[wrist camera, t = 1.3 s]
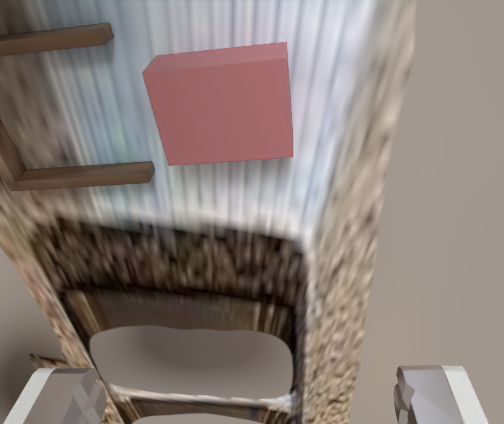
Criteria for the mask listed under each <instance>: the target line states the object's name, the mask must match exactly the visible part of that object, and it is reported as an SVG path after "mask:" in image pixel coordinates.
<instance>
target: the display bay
mask: <svg viewBox="0 0 504 424" xmlns="http://www.w3.org/2000/svg"><path fill="white" fill-rule="evenodd" d="M113 37H114V35H113V32H112V29H111V26H110V23H103V24H95V25H86V26H78V27H69V28H60V29H52V30H43V31H35V32H26V33H17V34H9V35H0V56H6V55H15V54H24V53H34V52H43V51H52V50H61V49H70V48H80V47H89V46H98V45H104V44H106V43H107V42H108V41H109V40H111V39H112V38H113ZM154 172H155V169H154V165H153V162H152V161H148V162H133V163H119V164H104V165H89V166H74V167H59V168H45V169H30V170H27V169H26V167H25V165H24V163H23V161H22V159H21V158H20V156H19V154H18V152H17V150H16V148H15V146H14V144H13V142H12V141H11V139H10V137H9V135H8V133H7V131H6V129H5V127H4V125H3V124H2V122H1V120H0V174H1V176H2V177H3V179H4V181H5V183H6V184H7V186H8V188H9V190H10V191H24V190H40V189H57V188H73V187H90V186H107V185H123V184H140V183H149V182H150V180H151V178H152V176H153V174H154Z"/></svg>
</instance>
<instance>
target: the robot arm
mask: <svg viewBox="0 0 504 424" xmlns="http://www.w3.org/2000/svg"><path fill="white" fill-rule="evenodd" d="M97 377H98V375H97V374H96V372H95V370H94V369H79V368H39V369H38V370H37V371H35V372H34V374H33V375H32V376H31V378H30V380H29V381H28V383H27V385H26V386H25V388H24V390H23V391H22V393H21V395H20V397H19V398H18V400H17V401H16V403H15V405H14V407H13V408H12V410H11V412H10V413H9V415H8V417H7V418H6V420H5V422H4V424H99V423H100V422H101V420H102V417H103V414H104V411H105V406H106V393H105V390H104V388H103V386H102V385H101V384H99V383H97V382H96V379H97ZM397 379H398V383H397V384H396V385H395V389H394V405H395V411H396V416H397V420H398V424H489V423H488V421H487V419H486V416H485V414H484V412H483V410H482V408H481V405H480V403H479V401H478V398H477V396H476V394H475V391H474V389H473V387H472V384H471V382H470V380H469V378H468V375H467V373H466V371H465V369H464V368H463V367H462V366H459V365H458V366H439V365H429V366H428V365H427V366H399V367H398V369H397Z"/></svg>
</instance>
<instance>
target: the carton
mask: <svg viewBox="0 0 504 424" xmlns="http://www.w3.org/2000/svg"><path fill="white" fill-rule="evenodd" d="M142 74H143V78H144V81H145V85H146V88H147V92H148V95H149V99H150V102H151V106H152V109H153V113H154V116H155V120H156V123H157V127H158V130H159V134H160V137H161V141H162V144H163V148H164V151H165V155H166V158H167V162H168V165H169V166H173V165H188V164H202V163H216V162H231V161H245V160H259V159H274V158H288V157H293V129H292V114H291V99H290V84H289V70H288V55H287V42H280V43H271V44H262V45H252V46H243V47H234V48H224V49H215V50H206V51H196V52H187V53H178V54H168V55H159V56H156V57H155V58H154V60H153V61H152V62H151V63H150V64H149V66H148V67H147V68H146V69H145V70H144V72H143V73H142Z"/></svg>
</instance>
